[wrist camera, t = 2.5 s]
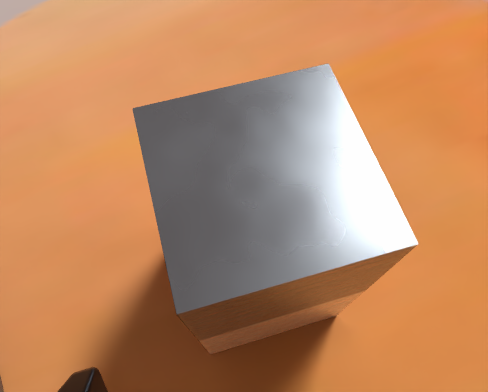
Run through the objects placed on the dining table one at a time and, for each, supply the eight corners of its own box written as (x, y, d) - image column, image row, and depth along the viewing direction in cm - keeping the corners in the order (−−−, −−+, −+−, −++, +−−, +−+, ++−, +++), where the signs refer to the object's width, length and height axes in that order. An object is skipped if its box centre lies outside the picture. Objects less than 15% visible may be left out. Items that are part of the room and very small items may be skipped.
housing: (336, 315, 19) (418, 243, 10) (210, 354, 18) (176, 314, 9) (293, 202, 22) (328, 63, 13) (181, 232, 21) (132, 108, 12)
